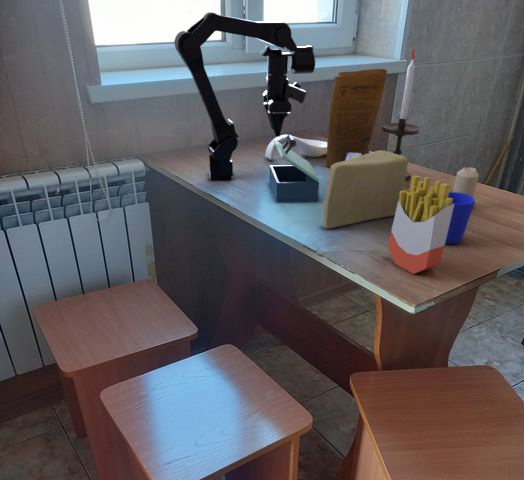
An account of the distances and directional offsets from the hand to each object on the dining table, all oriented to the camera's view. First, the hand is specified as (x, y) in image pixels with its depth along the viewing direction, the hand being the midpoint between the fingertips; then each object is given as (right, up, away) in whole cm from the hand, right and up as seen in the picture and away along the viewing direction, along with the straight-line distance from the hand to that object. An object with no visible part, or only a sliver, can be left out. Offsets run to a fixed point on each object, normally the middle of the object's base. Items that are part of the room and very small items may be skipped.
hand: (275, 132), depth 153 cm
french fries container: (+27, -48, -45) cm, 71 cm away
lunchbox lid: (+5, -13, -12) cm, 19 cm away
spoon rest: (+9, +2, +24) cm, 25 cm away
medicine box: (+22, -17, -2) cm, 28 cm away
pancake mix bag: (+25, -4, +16) cm, 30 cm away
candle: (+50, -26, -14) cm, 58 cm away
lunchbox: (+5, -20, -7) cm, 22 cm away
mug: (+37, -40, -34) cm, 64 cm away
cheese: (+20, -32, -24) cm, 45 cm away
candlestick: (+37, -11, +7) cm, 39 cm away
